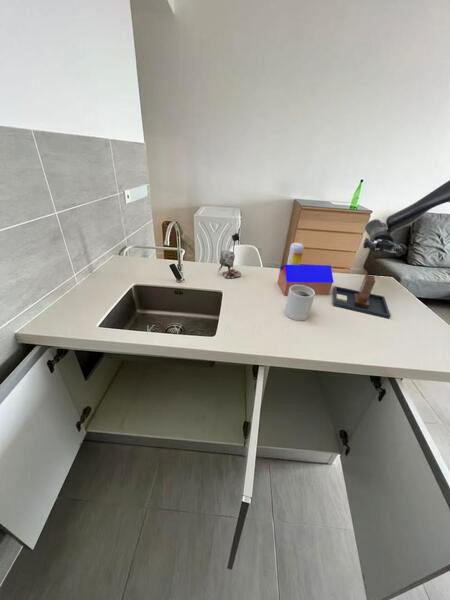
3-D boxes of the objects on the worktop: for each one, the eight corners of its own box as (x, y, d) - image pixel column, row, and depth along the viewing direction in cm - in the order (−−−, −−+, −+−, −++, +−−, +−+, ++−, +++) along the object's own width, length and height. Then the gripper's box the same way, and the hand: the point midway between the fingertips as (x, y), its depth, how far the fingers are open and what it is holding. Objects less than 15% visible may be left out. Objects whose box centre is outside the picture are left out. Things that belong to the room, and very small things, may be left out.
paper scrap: (346, 297, 102) (346, 295, 102) (346, 302, 99) (347, 300, 98) (336, 295, 103) (336, 293, 103) (335, 300, 100) (336, 298, 100)
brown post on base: (366, 299, 101) (376, 275, 95) (367, 309, 95) (378, 283, 89) (353, 297, 103) (362, 272, 97) (353, 306, 97) (364, 280, 91)
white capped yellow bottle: (300, 274, 121) (307, 245, 114) (291, 276, 118) (298, 247, 111) (291, 269, 126) (297, 241, 118) (282, 272, 123) (288, 243, 115)
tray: (382, 300, 103) (384, 296, 102) (388, 320, 90) (390, 315, 89) (333, 290, 109) (334, 286, 108) (332, 307, 96) (334, 302, 95)
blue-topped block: (276, 282, 112) (280, 259, 106) (318, 283, 114) (324, 259, 108) (283, 296, 102) (289, 270, 96) (329, 296, 104) (337, 271, 98)
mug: (294, 322, 86) (300, 298, 81) (278, 309, 93) (283, 286, 88) (317, 316, 90) (324, 293, 85) (300, 303, 97) (306, 281, 92)
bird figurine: (218, 271, 120) (219, 230, 109) (240, 272, 120) (244, 231, 110) (217, 278, 113) (218, 235, 103) (241, 279, 113) (245, 237, 103)
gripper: (365, 228, 103) (369, 238, 90) (404, 233, 98) (413, 245, 85) (359, 245, 107) (362, 257, 94) (396, 251, 102) (404, 265, 89)
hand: (386, 251), depth 90 cm, fingers open, 8 cm apart
